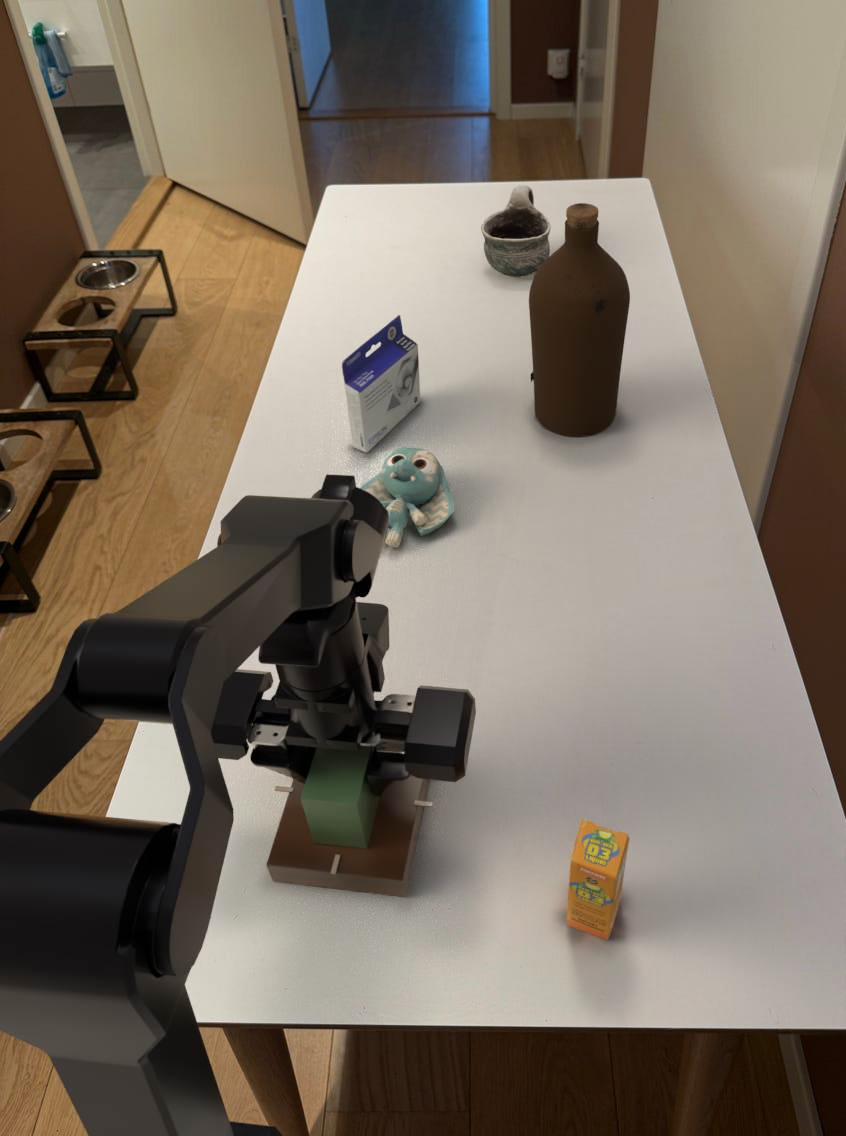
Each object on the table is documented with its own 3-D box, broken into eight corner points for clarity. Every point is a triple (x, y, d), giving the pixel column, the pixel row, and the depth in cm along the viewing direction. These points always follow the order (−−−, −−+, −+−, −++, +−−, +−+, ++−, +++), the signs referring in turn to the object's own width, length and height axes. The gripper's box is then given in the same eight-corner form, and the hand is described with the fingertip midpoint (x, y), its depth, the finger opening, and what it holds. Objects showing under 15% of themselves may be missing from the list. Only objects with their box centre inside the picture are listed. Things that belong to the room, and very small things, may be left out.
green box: (367, 849, 69) (356, 803, 65) (313, 843, 69) (299, 797, 65) (390, 753, 75) (381, 705, 71) (340, 748, 75) (329, 701, 71)
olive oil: (638, 407, 111) (657, 203, 95) (586, 453, 105) (596, 244, 89) (564, 376, 117) (570, 178, 100) (510, 418, 111) (506, 215, 94)
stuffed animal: (324, 508, 92) (368, 418, 99) (340, 550, 98) (380, 462, 105) (429, 529, 89) (467, 434, 96) (438, 571, 95) (474, 479, 102)
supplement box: (562, 929, 67) (565, 858, 60) (577, 884, 69) (582, 811, 62) (608, 946, 66) (617, 876, 59) (622, 900, 68) (632, 828, 61)
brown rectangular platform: (420, 900, 69) (417, 882, 67) (257, 881, 70) (250, 863, 68) (447, 754, 78) (445, 735, 76) (302, 739, 79) (297, 720, 77)
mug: (481, 287, 134) (478, 219, 127) (484, 244, 143) (482, 180, 136) (550, 286, 133) (551, 218, 126) (549, 243, 142) (550, 178, 136)
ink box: (368, 455, 107) (355, 369, 99) (351, 449, 108) (337, 363, 100) (424, 401, 114) (416, 317, 106) (408, 396, 115) (399, 312, 107)
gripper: (482, 574, 66) (489, 709, 76) (222, 555, 68) (263, 689, 78) (457, 708, 57) (469, 839, 68) (163, 681, 60) (218, 812, 70)
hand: (351, 787), depth 71 cm, fingers closed on green box, 4 cm apart
